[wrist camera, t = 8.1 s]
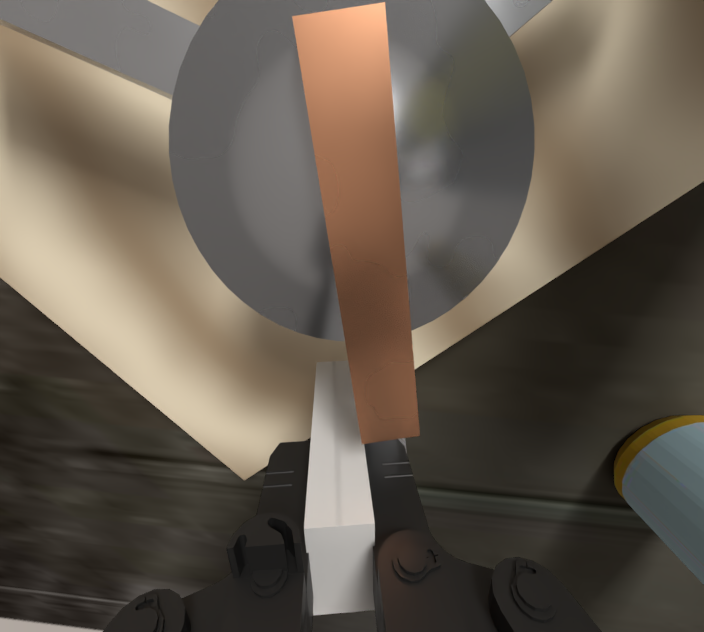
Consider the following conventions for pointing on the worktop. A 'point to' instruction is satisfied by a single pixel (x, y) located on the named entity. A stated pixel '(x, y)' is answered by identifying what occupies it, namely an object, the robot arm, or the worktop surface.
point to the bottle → (668, 483)
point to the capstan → (332, 156)
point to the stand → (233, 314)
